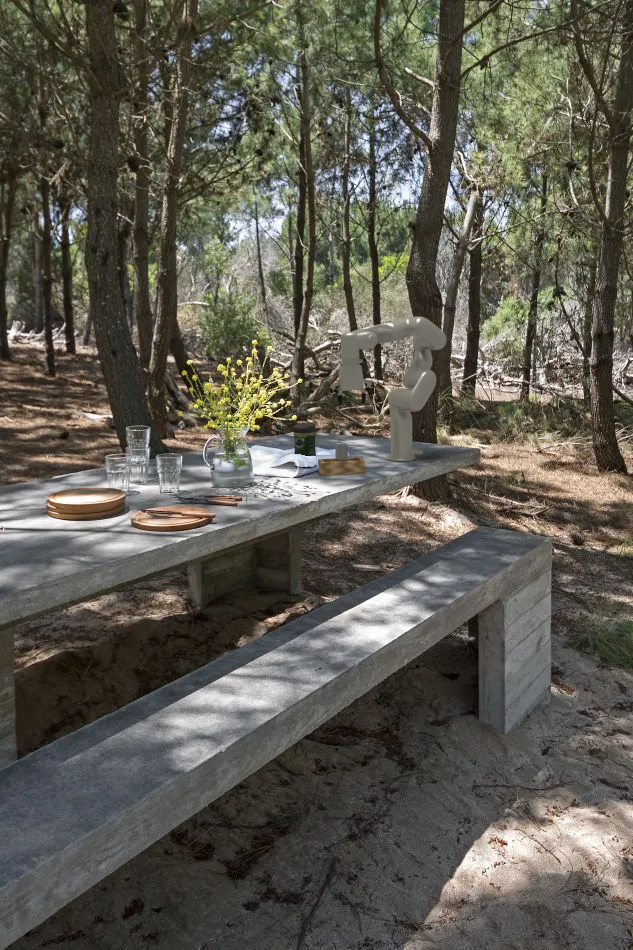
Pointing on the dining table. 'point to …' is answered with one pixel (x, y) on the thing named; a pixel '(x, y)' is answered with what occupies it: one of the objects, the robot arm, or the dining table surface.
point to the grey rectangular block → (341, 452)
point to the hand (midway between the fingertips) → (352, 403)
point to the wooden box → (341, 466)
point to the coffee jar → (305, 439)
